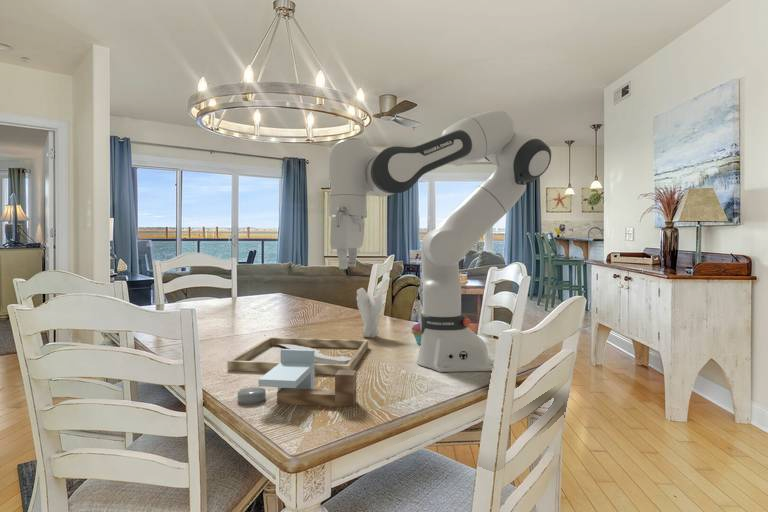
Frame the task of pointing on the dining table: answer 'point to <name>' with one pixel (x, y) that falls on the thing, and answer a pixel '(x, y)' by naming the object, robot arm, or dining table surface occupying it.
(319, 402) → the brown l-shaped block
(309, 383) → the shelf
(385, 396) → the dining table surface
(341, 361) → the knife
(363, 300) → the shell sculpture
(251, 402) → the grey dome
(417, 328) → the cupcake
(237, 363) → the wooden frame
